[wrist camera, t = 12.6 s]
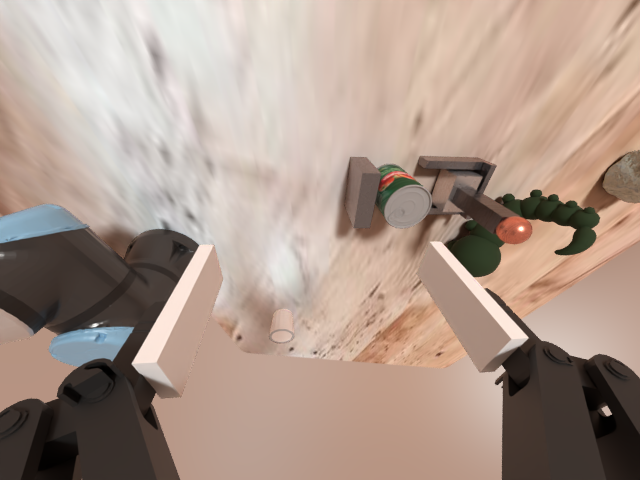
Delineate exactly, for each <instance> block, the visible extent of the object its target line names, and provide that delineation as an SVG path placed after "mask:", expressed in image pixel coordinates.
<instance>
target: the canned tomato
mask: <svg viewBox="0 0 640 480" xmlns="http://www.w3.org/2000/svg"><path fill="white" fill-rule="evenodd" d="M377 169H378V170H379V172H380V173H381V177H380V182H379V187H378V192H377V196H376V201H375V204H376V205H377V207H378V208H379V210H380V211H381V213H382V215H383V216H384V218H385V219H386V221H387V222H388V224H389V225H391V226H393V227H395V228H400V229H402V228H409V227H412V226H414V225H416V224H418V223H419V222H420V221H422V220H423V219H424V218H425V217H426V215H427V214H428V212H429V211H430V208H431V205H432V197H431V194H430V192H429V191H428V190H427V189H426V188H425V187H423V186H422V185H421V184H420V183H418V182H417V181H416V180H415V179H414V178H412V177H411V176H410V175H409V174H408V173H406V172H405V171H404V170H403V169H402V168H401V167H399V166H398V165H395V164H385V165H382V166H380V167H378V168H377Z"/></svg>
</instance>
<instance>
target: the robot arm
mask: <svg viewBox="0 0 640 480" xmlns="http://www.w3.org/2000/svg"><path fill="white" fill-rule="evenodd" d="M89 227H90V226H89V225H87V224H84V223H82V222H81V221H80V220H79V219H78V218H76V217H75V216H74V215H73V214H71V213H70V212H69V211H68V210H67V209H65V208H63V207H61V206H58V205H54V204H42V205H38V206H34V207H31V208H28V209H25V210H22V211H18V212H15V213H12V214H9V215H6V216H3V217H0V345H1V344H4V343H9V342H13V341H19V340H23V339H28V338H30V337H31V336H33V335H34V334H35V333H37V332H38V331H39V330H40V329H41V328H43V327H45V328H47V329H49V330H50V331H52V332H54V333H56V334H57V335H58V336H57V337H55V338H54V339H53V340H52V341H51V345H50V346H49V352H50V353H51V355H52V356H53V357H54V358H55V359H57V360H59V361H61V362H63V363H66V364H69V365H73V366H77V367H78V368H77V369H75V370H74V371H73V372H71V373H70V374H69V375H68V376H67V377H66V378H65V379H64V381H63V382H62V384H61V385H60V387H59V388H58V393H57V397H58V398H59V399H56V400H53V401H50V402H47V403H44V402H42V401H40V400H39V399H26V400H23V401H20V402H17V403H16V404H13V405H11V406H10V407H8V408H6V409H5V410H3V411H2V412H1V413H0V480H81V479H82V480H180V478H179V475H178V473H177V470H176V467H175V464H174V462H173V459H172V456H171V453H170V451H169V448H168V445H167V442H166V440H165V437H164V434H163V431H162V429H161V426H160V423H159V420H158V418H157V415H156V412H155V409H154V407H153V405H152V404H151V402H152V400H153V398H154V396H155V393H157V394H158V395H159V397H161V398H173V397H181V396H182V394H183V391H184V388H185V385H186V382H187V379H188V377H189V374H190V371H191V368H192V365H193V363H194V360H195V357H196V354H197V351H198V349H199V346H200V343H201V340H202V337H203V335H204V332H205V329H206V326H207V323H208V321H209V317H210V315H211V312H212V310H213V307H214V304H215V301H216V298H217V295H218V293H219V290H220V287H221V284H222V281H223V276H222V272H221V269H220V265H219V261H218V258H217V254H216V250H215V247H214V245H200V246H199V245H198V244H197V243H196V242H195V241H193V240H192V239H190V238H189V237H187V236H185V235H183V234H181V233H178V232H175V231H171V230H164V229H155V230H149V231H146V232H143V233H141V234H140V235H138V236H137V237H136V238H135V239H134V240H133V241H132V242H131V244H130V245H129V247H128V249H127V252H126V255H125V258H124V259H122V258H121V257H120V256H119V255H118V254H117V253H116V252H115V251H114V250H113V249H112V248H110V247H109V246H108V245H107V244H106V243H105V242H104V241H103V240H102V239H101V238H100V237H99V236H97V235H96V234H95V233H94V232H93V231H92V230H91V229H90V228H89ZM417 275H418V277H419V278H420V280H421V281H422V283H423V284H424V286H425V288H426V289H427V291H428V292H429V294H430V295H431V297H432V299H433V300H434V302H435V303H436V305H437V306H438V308H439V310H440V311H441V313H442V314H443V316H444V317H445V319H446V321H447V322H448V324H449V325H450V327H451V328H452V330H453V332H454V333H455V335H456V336H457V338H458V339H459V341H460V342H461V344H462V346H463V347H464V349H465V350H466V352H467V353H468V355H469V357H470V358H471V359H472V361H473V363H474V364H475V366H476V368H477V369H478V371H479V372H492V371H495V370H496V369H497V368H499V366H501V365H502V366H503V367H504V369H505V370H506V371H505V372H504V373H503V374H502V375H501V376H500V377H499V378H498V379H497V380H496V382H495V384H496V385H498V384H499V383H501V382H502V381H503V386H502V388H503V425H502V428H503V430H502V480H640V378H639V377H638V376H637V375H636V374H635V373H634V372H633V371H632V370H631V369H630V368H628V367H627V366H626V365H624V364H623V363H622V362H620V361H618V360H616V359H614V358H612V357H609V356H607V355H602V354H598V355H595V356H593V357H592V358H590V359H589V360H586V359H582V358H578V357H574V356H570V355H569V354H568V353H566V352H565V351H564V350H563V349H561V348H560V347H558V346H556V345H554V344H552V343H549V342H546V341H541V340H540V339H539V338H538V337H537V336H536V335H535V334H534V333H533V332H532V331H531V330H530V329H529V328H528V327H527V326H526V324H525V323H524V322H523V321H522V320H521V319H520V318H519V317H518V316H517V315H516V314H515V313H513V311H512V310H511V309H510V308H509V307H508V306H506V303H505V302H504V301H503V300H502V299H501V298H500V297H499V296H498V295H496V294H495V293H493V292H492V291H491V290H489V289H488V288H485V289H484V288H483V287H482V286H481V285H480V284H479V283H478V282H477V281H476V280H475V279H474V277H473V276H472V275H471V274H470V273H469V272H468V271H467V270H466V269H465V268H464V267H463V265H462V264H461V263H460V262H459V261H458V260H457V259H456V258H455V257H454V256H453V254H452V253H451V252H450V251H449V250H448V249H447V248H446V247H445V246H444V245H443V244H442V242H429V244H428V246H427V249H426V251H425V254H424V256H423V259H422V261H421V264H420V266H419V269H418V271H417ZM605 406H608V408H609V409H610V411H611V413H612V415H610V416H606V415H605V414H604V412H603V411H602V409H601V408H603V407H605Z"/></svg>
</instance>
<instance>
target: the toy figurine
mask: <svg viewBox="0 0 640 480" xmlns="http://www.w3.org/2000/svg"><path fill="white" fill-rule="evenodd" d="M541 195H542V192H541V190H533V191H532V192H531V193H530V196H531V197H529V198H525V199H524V200H519V199H517V200H514V199H515V197H514V196H513V195H512V194H506V195H504V196H503V198H502V201H503V202H504V204H503V205H502V206H504V207H506V208H507V209H509V210H511V211H512V212H514V213H516V214H517V215H519V216H521V217H522V218H524V219H530V220H536V219H539V220H541V221H545V222H555V223H556V224H558V225H561V226H571V227H573V228H574V229H577V230H576V231H575V232H574V235H573V239H572V241H571V243H570V244H569V245H568V246H567V247H565V248H563V249H560V250H556V251H555V254H557V255H573V254H577V253H581V252H583V251H585V250H587V249H588V248H589V247H590V246H592V245H593V243H594V242H595V240H596V233H595V231H594V230H592V229H591V228H593V227H595V226H596V225H597V224H598V223H599V220H600V217H599V215H598V214H597V213H595V210H594V208H592V207H587V208H584V210H583V209H582V208H580V207H579V206H577V203H576V202H575V201H568V202H566V204H564V203H562V202H561V201H559V198H558V195H555V194H553V195H550V196H549V197H548V199H547V197H544V196H541ZM540 196H541V197H540ZM465 227H466V228H467V229H468V230H469V231H470V235H468V236H465V237H463V238H461V239H459V240H458V241H451V242H449V243H448V246H447V248H448V250H449V251H450V252H451V253H452V254H453V256H454V257H455V258H456V259H457V260H458V261H459V262H460V263H461V264H462V265H463V267H464V268H465V269H466V270H467V271H468V272H469V273H470V274H471V275H472V276H473V277H482V276H486V275H488V274H491V273H492V272H494V271H495V270H496V268H497V267H498V265H499V264H500V261H501V253H500V250H499V247H501V246H502V245H503V244H504V243H505V242H503V241H501V240H500V239H499V238H498V236H497V234H492V233H490V232H489V231H488V230H486V229H485V228H484V227H483V226H481V225H480V224H479V223H477V222H476V221H475V220H469V221H468V222H467V223H466V225H465Z"/></svg>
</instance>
